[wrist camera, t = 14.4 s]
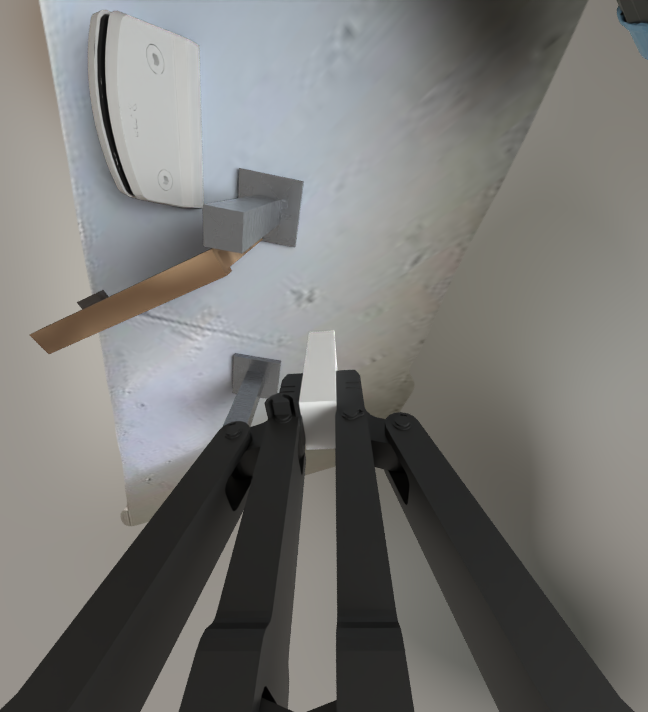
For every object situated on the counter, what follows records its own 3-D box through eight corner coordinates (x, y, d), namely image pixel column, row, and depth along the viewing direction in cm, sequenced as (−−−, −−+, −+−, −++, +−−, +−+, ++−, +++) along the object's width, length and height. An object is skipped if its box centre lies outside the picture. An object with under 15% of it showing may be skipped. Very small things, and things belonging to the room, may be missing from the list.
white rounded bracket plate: (204, 211, 40) (139, 212, 32) (175, 203, 41) (106, 203, 33) (199, 40, 32) (110, -19, 23) (164, 37, 33) (66, -21, 25)
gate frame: (303, 181, 38) (280, 180, 21) (276, 396, 56) (252, 491, 39) (241, 168, 38) (164, 156, 20) (234, 389, 55) (189, 483, 38)
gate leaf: (264, 242, 41) (226, 275, 26) (139, 299, 45) (48, 354, 31) (252, 218, 39) (206, 239, 25) (125, 279, 44) (22, 328, 29)
